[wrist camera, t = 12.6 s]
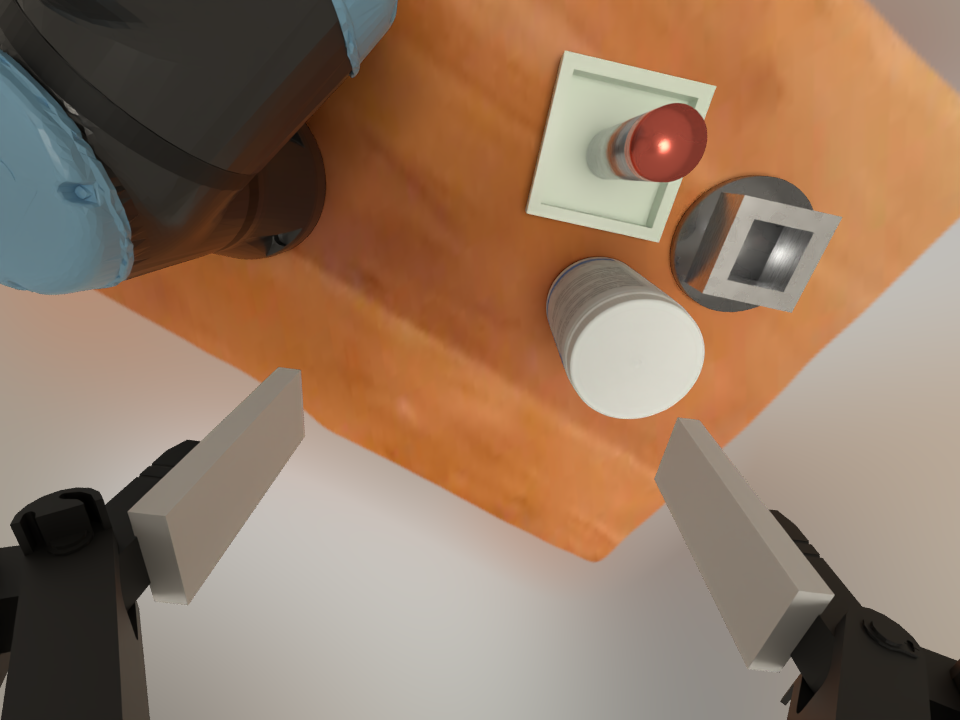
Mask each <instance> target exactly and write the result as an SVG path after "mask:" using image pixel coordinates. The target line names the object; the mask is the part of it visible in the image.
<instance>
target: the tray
mask: <svg viewBox="0 0 960 720" xmlns="http://www.w3.org/2000/svg"><path fill="white" fill-rule="evenodd" d="M715 89H716V86H713V85H709V84H705V83H700V82H696V81H692V80H688V79H684V78H679V77H675V76H671V75H667V74H662V73H658V72H654V71H650V70H645V69H641V68H637V67H633V66H629V65H624V64H620V63H616V62H612V61H607V60H603V59H599V58H595V57H590V56H586V55H582V54H578V53H574V52H569V51H565V52H564V53H563V55H562V57H561V60H560V64H559V69H558V73H557V77H556V82H555V86H554V90H553V94H552V99H551V103H550V107H549V111H548V116H547V120H546V124H545V128H544V133H543V137H542V141H541V145H540V150H539V154H538V158H537V162H536V167H535V171H534V175H533V179H532V184H531V188H530V192H529V196H528V201H527V205H526V209H525V211H526V213H527V214H532V215H536V216H541V217H545V218H550V219H555V220H559V221H564V222H568V223H573V224H577V225H582V226H586V227H591V228H595V229H600V230H604V231H609V232H614V233H618V234H623V235H627V236H632V237H636V238H641V239H645V240H650V241H654V242H659V240H660V238H661V235H662V232H663V230H664V227H665V224H666V221H667V219H668V216H669V213H670V211H671V208H672V205H673V203H674V200H675V197H676V194H677V192H678V189H679V186H680V184H681V181H682V178H683V177H682V178H681V179H678V180H676V181H672V182H646V181H628V180H609V179H601V178H599V177H597V176H595V175H594V174H593V173H592V172H591V171H590V169H589V167H588V164H587V160H586V154H587V149H588V146H589V144H590V142H591V140H592V139H593V137H594V136H595V135H596V134H598V133H599V132H600V131H602V130H604V129H607V128H609V127H612V126H614V125H617V124H619V123H622V122H624V121H627V120H629V119H632V118H634V117H637V116H639V115H641V114H644V113H646V112H649V111H651V110H654V109H656V108H659V107H661V106H664V105H667V104H671V103H683V104H687V105H689V106H691V107H693V108H694V109H696V110H697V111H698V112H699V113H700V115H701V116H702V117H703V119H705V116H706V113H707V110H708V108H709V105H710V102H711V100H712V97H713V94H714V91H715Z"/></svg>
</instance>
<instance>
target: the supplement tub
mask: <svg viewBox="0 0 960 720" xmlns="http://www.w3.org/2000/svg"><path fill="white" fill-rule="evenodd" d="M546 313H547V318H548V322H549V325H550V328H551V331H552V334H553V337H554V340H555V343H556V346H557V348H558V351H559V354H560V357H561V360H562V363H563V366H564V369H565V371H566V374H567V376H568V378H569V380H570V382H571V384H572V386H573V387H574V389H575V390H576V392H577V393H578V395H579V396H580V398H581V399H582V400H583V401H584V402H585V403H586V404H587V405H588V406H590V407H591V408H592V409H594V410H596V411H597V412H599V413H601V414H604V415H606V416H610V417H614V418H621V419H637V418H643V417H648V416H651V415H654V414H657V413H660V412H662V411H664V410H666V409H668V408H669V407H671V406H673V405H674V404H675V403H677V402H678V401H679V400H680V399H682V398H683V397H684V396H685V395H686V394H687V393H688V391H689V390H690V389H691V388H692V386H693V385H694V383H695V382H696V380H697V378H698V377H699V374H700V372H701V369H702V366H703V361H704V354H705V351H704V341H703V337H702V334H701V331H700V329H699V327H698V325H697V324H696V322H695V321H694V320H693V319H692V317H691V316H690V315H689V313H688V312H687V311H686V310H685V309H684V308H683V307H682V306H681V305H680V304H678V303H677V302H676V301H675V300H673V299H672V298H671V297H669V296H668V295H667V294H665V293H664V292H663V291H661V290H660V289H659V288H657V287H656V286H655V285H653V284H652V283H651V282H649V281H648V280H647V279H645V278H644V277H643V276H641V275H640V274H638V273H637V272H636V271H634V270H633V269H632V268H630V267H629V266H627V265H626V264H625V263H623V262H621V261H618V260H616V259H613V258H608V257H592V258H586V259H583V260H580V261H578V262H576V263H573V264H572V265H570V266H569V267H567V268H566V269H565V270H564V271H562V272H561V273H560V275H559V276H558V277H557V278H556V279H555V281H554V282H553V284H552V286H551V288H550V290H549V293H548V297H547V302H546Z"/></svg>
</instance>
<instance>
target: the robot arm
mask: <svg viewBox="0 0 960 720" xmlns="http://www.w3.org/2000/svg"><path fill="white" fill-rule="evenodd" d="M397 1H398V0H0V284H2V285H5V286H8V287H11V288H15V289H18V290H29V291H31V292H36V293H39V294H46V295H59V294H68V293H74V292H78V291H85V290H91V289H101V288H108V287H112V286H117V285H118V284H119V283H120V282H121V281H124V280H128V279H131V278H134V277H137V276H140V275H144V274H147V273H150V272H153V271H156V270H160V269H163V268H166V267H169V266H173V265H176V264H179V263H182V262H185V261H189V260H192V259H195V258H198V257H202V256H205V255H208V254H211V253H213V254H218V255H223V256H228V257H233V258H238V259H262V258H267V257H271V256H274V255H277V254H280V253H282V252H285V251H287V250H290V249H292V248H293V247H295V246H297V245H298V244H299V243H301V242H302V241H303V240H304V239H305V238H306V237H307V236H308V235H309V234H310V233H311V231H312V230H313V229H314V227H315V225H316V224H317V222H318V220H319V217H320V215H321V212H322V209H323V205H324V200H325V190H326V182H325V171H324V166H323V161H322V157H321V154H320V151H319V148H318V146H317V143H316V141H315V139H314V137H313V135H312V133H311V131H310V130H309V128H308V126H307V125H306V123H305V122H306V121H307V120H308V119H309V118H310V117H311V116H312V115H313V114H314V113H315V112H316V111H317V109H318V108H319V107H320V106H321V105H322V104H323V103H324V102H325V101H326V100H327V99H328V98H329V97H330V95H331V94H332V93H333V92H334V91H335V90H336V89H337V88H338V87H339V86H340V85H341V84H342V82H343V81H344V80H345V79H346V78H347V77H348V76H350V77H352V78H353V77H355V76H356V75H357V74H358V72H359V69H360V63H361V62H362V61H363V60H364V59H365V57H366V56H367V55H368V54H369V53H370V51H371V50H372V49H373V48H374V47H375V45H376V44H377V43H378V42H379V41H380V39H381V38H382V37H383V36H384V35H385V33H386V32H387V31H388V30H389V28H390V27H391V25H392V23H393V21H394V19H395V16H396V11H397ZM304 437H305V430H304V414H303V397H302V381H301V370H297V369H289V368H281V367H278V368H277V369H276V370H275V371H274V372H273V373H272V374H271V375H270V376H269V377H268V378H267V379H266V380H265V381H263V382H262V383H261V384H260V385H259V386H258V387H257V388H256V389H255V390H254V391H253V392H252V393H251V394H250V395H249V396H248V397H247V398H246V399H245V400H244V401H243V402H242V403H240V404H239V405H238V406H237V407H236V408H235V409H234V410H233V411H232V412H231V413H230V414H229V415H228V416H227V417H226V418H225V419H224V420H223V421H222V422H221V423H220V424H219V425H217V426H216V427H215V428H214V429H213V430H212V431H211V432H210V433H209V434H208V435H207V436H206V437H205V438H204V439H203V440H202V441H193V440H186V441H184V442H182V443H180V444H178V445H176V446H174V447H172V448H171V449H168V450H167V451H166V452H164V453H163V454H162V455H161V456H160V457H159V458H158V459H157V460H156V461H154V462H153V463H152V466H149V467H147V468H146V469H145V470H144V471H143V472H142V473H141V474H140V476H139V477H136V478H135V479H134V480H133V481H132V482H131V483H129V484H128V485H127V486H126V487H125V488H124V489H123V490H122V491H120V492H119V493H118V494H117V495H116V496H115V497H114V498H112V499H111V500H110V501H109V502H108V503H107V504H106V505H105V504H104V501H103V498H102V496H101V494H100V492H98V491H96V490H94V489H91V488H71V489H65V490H60V491H57V492H54V493H51V494H49V495H46V496H43V497H41V498H39V499H37V500H36V501H34V502H32V503H30V504H28V505H27V506H25V508H23V509H22V510H21V511H20V512H18V513H17V514H16V515H15V517H14V519H13V520H12V522H11V524H10V526H11V528H12V530H13V532H14V534H15V536H16V538H17V541H18V543H19V546H12V547H4V548H0V687H1V685H2V683H3V680H4V678H5V676H6V674H7V672H8V674H7V682H6V688H5V696H4V702H3V710H2V716H1V720H150V716H149V706H148V696H147V686H146V676H145V665H144V654H143V644H142V635H141V624H140V613H139V607H138V604H137V601H136V600H137V599H138V598H139V597H140V595H141V594H142V593H143V592H144V590H145V589H146V588H147V587H148V585H150V588H151V591H152V595H153V598H154V601H155V602H165V603H173V604H181V605H189V603H190V602H191V600H192V599H193V597H194V596H195V594H196V593H197V592H198V590H199V589H200V587H201V586H202V584H203V583H204V582H205V580H206V579H207V577H208V576H209V574H210V573H211V571H212V570H213V569H214V567H215V566H216V564H217V563H218V561H219V560H220V558H221V557H222V556H223V554H224V552H225V551H226V550H227V548H228V547H229V545H230V544H231V542H232V541H233V540H234V538H235V537H236V535H237V534H238V532H239V531H240V529H241V528H242V527H243V525H244V524H245V522H246V521H247V519H248V518H249V516H250V515H251V513H252V512H253V511H254V509H255V508H256V506H257V505H258V503H259V502H260V500H261V499H262V498H263V496H264V495H265V493H266V492H267V490H268V489H269V487H270V486H271V485H272V483H273V482H274V480H275V478H276V477H277V476H278V474H279V473H280V472H281V470H282V469H283V467H284V466H285V464H286V463H287V461H288V460H289V458H290V457H291V455H292V454H293V453H294V451H295V450H296V448H297V447H298V445H299V444H300V443H301V441H302V440H303V438H304ZM655 481H656V484H657V486H658V488H659V490H660V492H661V494H662V496H663V498H664V500H665V502H666V504H667V506H668V508H669V510H670V512H671V514H672V516H673V518H674V520H675V522H676V524H677V526H678V528H679V530H680V532H681V534H682V536H683V538H684V540H685V542H686V544H687V546H688V549H689V550H690V553H691V555H692V557H693V559H694V561H695V562H696V565H697V567H698V569H699V571H700V573H701V575H702V577H703V579H704V581H705V583H706V585H707V587H708V589H709V591H710V593H711V595H712V597H713V599H714V601H715V603H716V605H717V607H718V610H719V611H720V613H721V616H722V618H723V620H724V622H725V624H726V626H727V628H728V630H729V632H730V634H731V636H732V638H733V640H734V642H735V644H736V646H737V648H738V650H739V652H740V654H741V656H742V658H743V660H744V662H745V664H746V666H747V668H748V669H753V670H762V671H771V672H780V671H781V669H782V668H783V667H784V666H785V664H786V662H787V661H788V660H789V658H790V657H792V659H793V661H794V662H795V664H796V666H797V667H798V669H799V671H800V672H801V674H800V675H799V676H798V678H797V679H796V680H795V682H794V683H793V684H792V686H791V687H790V689H789V690H788V691H787V692H786V694H785V695H784V696H783V698H782V700H781V702H782V703H783V704H784V705H786V704H787V703H788V702H789V700H791V702H790V707H789V712H788V717H787V720H960V659H959V660H958V661H957V660H954V659H951V658H948V657H946V656H943V655H940V654H938V653H935V652H932V651H930V650H927V649H925V648H922V647H920V646H919V645H918V643H917V642H916V641H915V639H914V638H913V637H912V636H911V635H910V634H909V633H908V632H907V631H906V630H905V629H903V628H902V627H901V626H900V625H899V624H897V623H896V622H894V621H893V620H891V619H890V618H888V617H887V616H885V615H883V614H881V613H879V612H877V611H875V610H872V609H870V608H865V607H862V606H861V605H860V603H859V602H858V601H857V600H856V599H855V597H854V596H853V595H852V594H851V593H850V591H849V590H848V589H847V588H846V586H845V585H844V584H843V583H842V581H841V580H840V579H839V578H838V576H837V575H836V574H835V573H834V572H833V570H832V569H831V568H830V567H829V565H828V564H827V563H826V562H825V561H824V559H823V558H820V556H819V555H820V554H819V553H818V552H817V551H816V550H815V548H814V547H813V546H812V545H811V544H809V541H808V540H807V538H806V537H805V536H804V535H803V534H802V532H801V531H800V530H799V529H798V527H797V526H796V525H795V524H794V523H792V522H791V521H790V520H789V519H787V518H786V517H785V516H784V515H782V514H781V513H780V512H779V511H777V510H769V509H768V508H767V507H766V506H765V504H764V503H763V502H762V501H761V499H760V498H759V497H758V495H757V494H756V493H755V491H754V490H753V489H752V488H751V486H750V485H749V484H748V483H747V481H746V480H745V479H744V477H743V476H742V475H741V473H740V472H739V471H738V469H737V468H736V467H735V466H734V464H733V463H732V462H731V461H730V459H729V458H728V457H727V455H726V454H725V453H724V451H723V450H722V449H721V448H720V446H719V445H718V444H717V442H716V441H715V440H714V439H713V437H712V436H711V435H710V433H709V432H708V431H707V429H706V428H705V427H704V426H703V424H702V423H701V422H700V420H694V419H686V418H677V421H676V423H675V426H674V429H673V431H672V434H671V437H670V439H669V442H668V444H667V447H666V450H665V452H664V455H663V458H662V460H661V463H660V466H659V468H658V471H657V473H656V476H655Z"/></svg>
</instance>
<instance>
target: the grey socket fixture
mask: <svg viewBox="0 0 960 720" xmlns="http://www.w3.org/2000/svg"><path fill="white" fill-rule="evenodd" d="M841 219H842V217H839V216H835V215H831V214H826V213H822V212H817V211H813V208H812V206H811V204H810V202H809V200H808V199H807V197H806V196H805V195H804V193H803V192H802V191H801V190H800V189H798V188H797V187H796V186H794V185H793V184H791V183H789V182H787V181H785V180H782V179H779V178H775V177H768V176H744V177H738V178H734V179H730V180H728V181H725V182H723V183H720V184H718V185H716V186H715V187H713V188H711V189H710V190H708V191H707V192H705V193H704V194H703V195H701V196H700V197H699V198H698V199H697V200H696V201H695V202H694V203H693V204H692V205H691V206H690V207H689V208H688V210H687V211H686V212H685V214H684V215H683V216H682V218H681V220H680V222H679V223H678V225H677V228H676V230H675V232H674V235H673V238H672V242H671V248H670V265H671V270H672V273H673V276H674V278H675V281H676V282H677V284H678V286H679V287H680V288H681V290H682V291H683V292H684V293H685V294H686V295H687V296H689V297H690V298H691V299H693V300H694V301H696V302H697V303H699V304H700V305H702V306H704V307H707V308H709V309H712V310H716V311H722V312H737V311H744V310H748V309H752V308H755V307H758V306H764V307H768V308H773V309H777V310H782V311H787V312H791V313H792V311H793V309H794V307H795V305H796V303H797V302H798V300H799V298H800V296H801V294H802V292H803V290H804V288H805V286H806V285H807V283H808V281H809V279H810V277H811V275H812V273H813V271H814V270H815V268H816V266H817V264H818V262H819V260H820V258H821V256H822V254H823V253H824V251H825V249H826V247H827V245H828V243H829V241H830V239H831V238H832V236H833V234H834V232H835V230H836V228H837V226H838V224H839V222H840V221H841Z"/></svg>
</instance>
